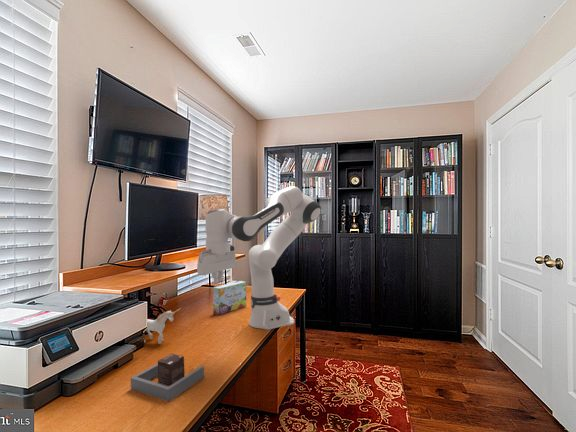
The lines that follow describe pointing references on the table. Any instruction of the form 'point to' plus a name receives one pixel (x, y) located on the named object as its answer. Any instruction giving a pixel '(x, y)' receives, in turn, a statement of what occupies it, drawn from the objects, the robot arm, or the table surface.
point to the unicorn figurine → (159, 324)
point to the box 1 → (170, 369)
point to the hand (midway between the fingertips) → (217, 282)
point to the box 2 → (161, 391)
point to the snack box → (229, 297)
